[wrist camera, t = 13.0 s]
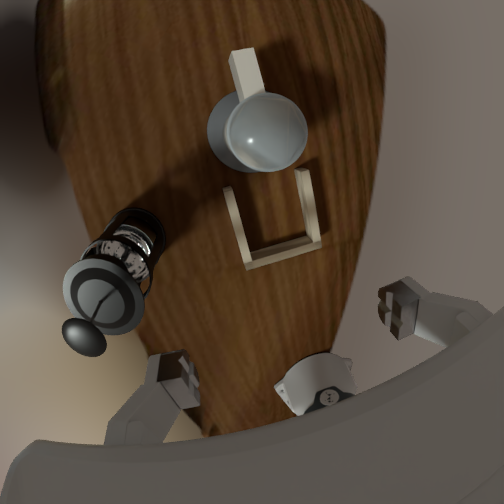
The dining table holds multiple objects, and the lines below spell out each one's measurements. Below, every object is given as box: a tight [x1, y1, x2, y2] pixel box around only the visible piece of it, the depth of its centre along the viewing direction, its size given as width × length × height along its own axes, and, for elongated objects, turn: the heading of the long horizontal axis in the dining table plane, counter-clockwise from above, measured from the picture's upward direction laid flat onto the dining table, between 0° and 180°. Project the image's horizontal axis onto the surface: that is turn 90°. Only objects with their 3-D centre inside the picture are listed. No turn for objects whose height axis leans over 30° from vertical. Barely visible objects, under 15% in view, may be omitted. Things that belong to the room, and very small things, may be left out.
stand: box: [222, 167, 322, 270], centre depth 40 cm, size 12×12×3 cm
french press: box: [62, 208, 166, 357], centre depth 29 cm, size 12×9×23 cm
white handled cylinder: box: [223, 48, 308, 172], centre depth 29 cm, size 14×8×10 cm, turn 14°
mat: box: [207, 91, 269, 173], centre depth 35 cm, size 12×12×1 cm
